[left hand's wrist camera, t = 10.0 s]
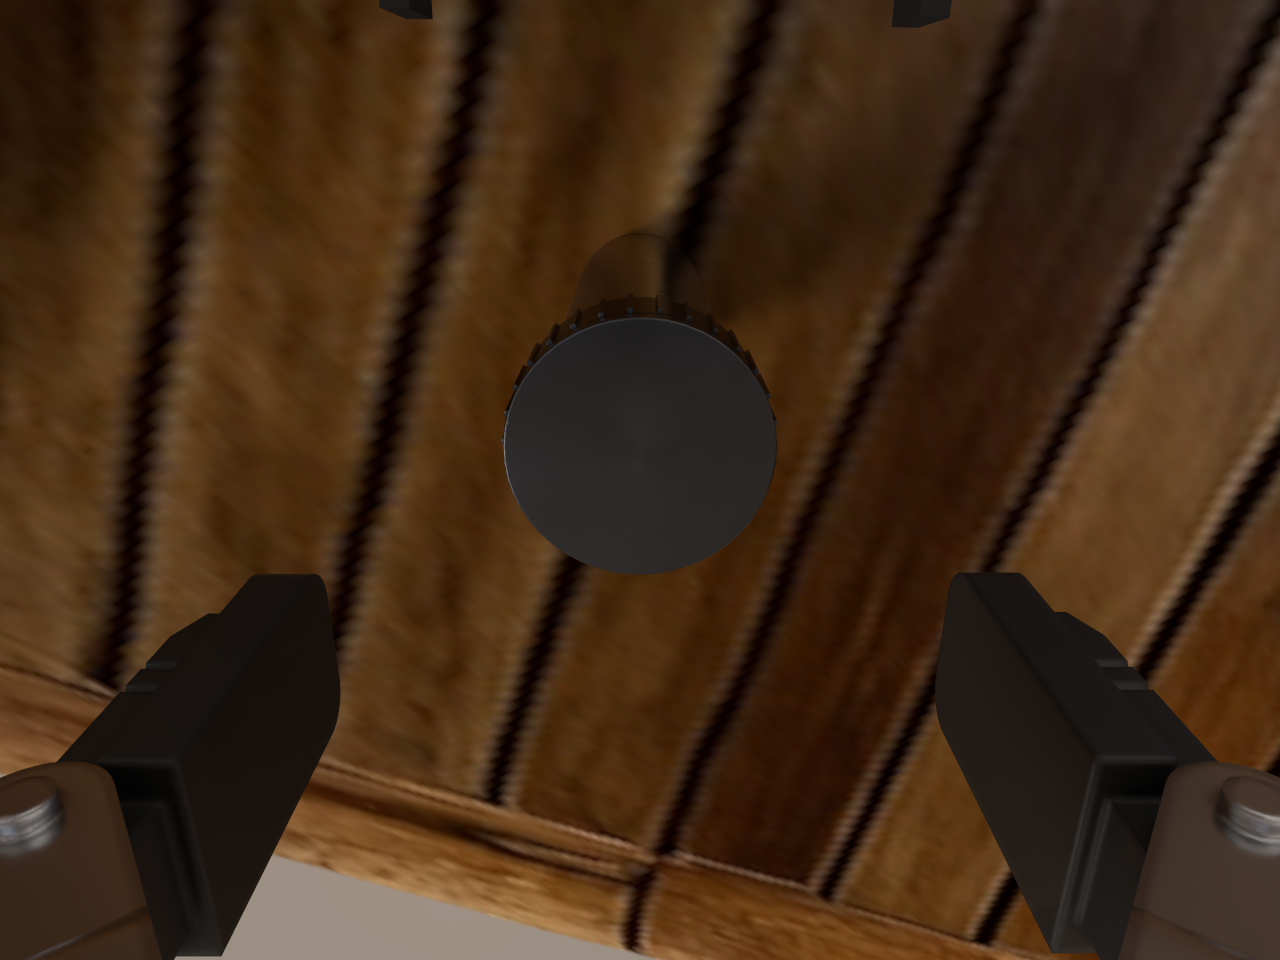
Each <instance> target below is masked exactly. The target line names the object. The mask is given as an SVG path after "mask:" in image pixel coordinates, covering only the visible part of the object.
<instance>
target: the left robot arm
mask: <svg viewBox="0 0 1280 960" xmlns="http://www.w3.org/2000/svg"><path fill="white" fill-rule="evenodd" d="M935 700H936V709H937V715H938V719H939V723H940V726H941V729H942V731H943V734H944V736H945V738H946V740H947V742H948V744H949V746H950V748H951V750H952V752H953V754H954V756H955V758H956V760H957V762H958V764H959V766H960V768H961V770H962V772H963V774H964V776H965V778H966V780H967V782H968V784H969V786H970V788H971V790H972V792H973V794H974V796H975V798H976V800H977V802H978V804H979V807H980V809H981V811H982V813H983V815H984V817H985V819H986V821H987V823H988V825H989V827H990V829H991V831H992V833H993V835H994V837H995V839H996V841H997V843H998V845H999V847H1000V849H1001V851H1002V853H1003V855H1004V857H1005V859H1006V861H1007V863H1008V865H1009V867H1010V869H1011V871H1012V873H1013V875H1014V877H1015V880H1016V882H1017V884H1018V886H1019V888H1020V890H1021V892H1022V894H1023V896H1024V898H1025V900H1026V902H1027V904H1028V906H1029V908H1030V910H1031V912H1032V914H1033V916H1034V918H1035V920H1036V922H1037V924H1038V926H1039V928H1040V930H1041V932H1042V934H1043V936H1044V938H1045V940H1046V942H1047V944H1048V946H1049V948H1050V950H1051V952H1052V953H1097V954H1098V956H1099V958H1100V960H1280V778H1279V777H1276V776H1274V775H1271V774H1268V773H1266V772H1263V771H1260V770H1257V769H1253V768H1250V767H1247V766H1242V765H1237V764H1232V763H1225V762H1217V760H1216V759H1215V758H1214V757H1213V756H1212V755H1211V754H1210V753H1209V752H1208V750H1207V749H1206V748H1205V747H1204V746H1203V745H1202V744H1201V743H1200V742H1199V740H1198V739H1197V738H1196V737H1195V736H1194V735H1193V734H1192V733H1191V731H1190V730H1189V729H1188V728H1187V727H1186V726H1185V725H1184V724H1183V723H1182V721H1181V720H1180V719H1179V718H1178V717H1177V716H1176V715H1175V714H1174V713H1173V711H1172V710H1171V709H1170V708H1169V707H1168V706H1167V705H1166V704H1165V703H1164V701H1163V700H1162V699H1161V698H1160V697H1159V696H1158V695H1157V694H1156V692H1155V691H1154V690H1148V684H1147V682H1146V681H1145V680H1144V679H1143V678H1142V677H1141V676H1140V675H1139V674H1138V672H1137V671H1136V670H1135V669H1134V668H1133V667H1128V661H1127V660H1126V659H1125V658H1124V657H1123V656H1122V655H1121V653H1120V652H1119V651H1118V650H1117V649H1116V648H1115V647H1114V646H1113V645H1112V643H1111V642H1110V641H1109V640H1108V639H1107V638H1106V637H1105V636H1104V635H1103V634H1101V633H1100V632H1098V631H1097V630H1095V629H1093V628H1092V627H1090V626H1088V625H1087V624H1085V623H1083V622H1082V621H1080V620H1078V619H1077V618H1075V617H1074V616H1072V615H1070V614H1069V613H1067V612H1054V611H1053V610H1052V609H1051V607H1050V606H1049V605H1048V604H1047V603H1046V601H1045V600H1044V599H1043V598H1042V597H1041V595H1040V594H1039V593H1038V592H1037V591H1036V590H1035V588H1034V587H1033V586H1032V585H1031V584H1030V582H1029V581H1028V580H1027V579H1026V578H1025V577H1024V576H1023V575H1022V574H1020V573H957V574H956V575H955V576H954V577H953V579H952V581H951V583H950V587H949V592H948V598H947V604H946V611H945V618H944V625H943V632H942V639H941V646H940V652H939V659H938V666H937V673H936V681H935ZM339 706H340V679H339V672H338V665H337V659H336V652H335V645H334V638H333V632H332V625H331V618H330V611H329V605H328V598H327V592H326V588H325V585H324V582H323V580H322V579H321V577H320V576H319V575H317V574H255V575H253V576H252V577H251V578H250V579H249V580H248V581H247V582H246V583H245V584H244V586H243V587H242V588H241V589H240V590H239V592H238V593H237V594H236V595H235V596H234V597H233V599H232V600H231V601H230V602H229V603H228V605H227V606H226V607H225V608H224V609H223V610H222V612H221V613H220V614H207V615H205V616H204V617H202V618H200V619H199V620H197V621H195V622H194V623H192V624H190V625H189V626H187V627H185V628H184V629H182V630H180V631H179V632H177V633H175V634H174V635H172V636H170V637H169V639H168V640H167V641H166V642H165V643H164V644H163V645H162V646H161V647H160V649H159V650H158V651H157V652H156V653H155V654H154V655H153V656H152V657H151V658H150V660H149V661H148V662H147V663H146V668H145V669H140V671H139V672H138V673H137V674H136V675H135V676H134V677H133V678H132V679H131V681H130V682H129V683H128V684H127V685H126V690H125V692H120V693H119V694H118V695H117V696H116V697H115V698H114V699H113V700H112V701H111V703H110V704H109V705H108V706H107V707H106V708H105V709H104V710H103V711H102V713H101V714H100V715H99V716H98V717H97V718H96V719H95V720H94V721H93V722H92V724H91V725H90V726H89V727H88V728H87V729H86V730H85V731H84V732H83V734H82V735H81V736H80V737H79V738H78V739H77V740H76V741H75V742H74V743H73V745H72V746H71V747H70V748H69V749H68V750H67V751H66V752H65V753H64V754H63V756H62V757H61V758H60V759H59V760H58V761H57V762H55V763H48V764H43V765H38V766H33V767H30V768H27V769H23V770H20V771H17V772H14V773H12V774H9V775H6V776H4V777H1V778H0V960H174V959H175V957H176V956H222V954H223V952H224V950H225V948H226V946H227V944H228V942H229V940H230V938H231V936H232V934H233V932H234V930H235V928H236V926H237V924H238V922H239V920H240V918H241V916H242V914H243V912H244V910H245V908H246V906H247V904H248V902H249V900H250V898H251V896H252V894H253V892H254V890H255V888H256V886H257V884H258V882H259V880H260V878H261V876H262V874H263V872H264V870H265V868H266V866H267V864H268V862H269V860H270V858H271V856H272V854H273V852H274V850H275V848H276V846H277V844H278V842H279V840H280V838H281V836H282V834H283V832H284V830H285V828H286V826H287V824H288V822H289V820H290V818H291V816H292V814H293V812H294V810H295V808H296V806H297V804H298V802H299V800H300V798H301V796H302V794H303V792H304V790H305V788H306V786H307V784H308V782H309V780H310V778H311V776H312V774H313V772H314V770H315V768H316V766H317V764H318V762H319V760H320V758H321V756H322V754H323V752H324V750H325V748H326V746H327V744H328V742H329V740H330V738H331V736H332V734H333V731H334V729H335V726H336V722H337V718H338V713H339Z"/></svg>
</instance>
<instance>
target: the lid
mask: <svg viewBox="0 0 1280 960" xmlns="http://www.w3.org/2000/svg"><path fill="white" fill-rule="evenodd" d="M526 364H527V366H525V365H523V367H522V369H521V371H520V373H519V375H518V377H517V379H516V381H515V384H514V386H513V388H512V389H514V392H513V395H512V397H511V399H510V401H509V403H508V405H507V408H506V410H505V413H504V415H505V416H507V417H506V422H505V427H504V435H503V437H502V443H503V453H504V464H505V469H506V473H507V478H508V481H509V484H510V487H511V489H512V492H513V495H514V497H515V499H516V501H517V502H518V504H519V506H520V508H521V510H522V511H523V513H524V514H525V516H526V517H527V519H528V520H529V521H530V523H531V524H532V525H533V526H534V527H535V528H536V529H537V530H538V532H539V533H540V534H541V535H542V536H543V537H545V538H546V539H547V540H548V541H549V542H550V543H552V544H553V545H554V546H555V547H557V548H558V549H560V550H561V551H563V552H564V553H566V554H567V555H569V556H571V557H573V558H575V559H577V560H579V561H581V562H583V563H586V564H588V565H591V566H594V567H597V568H600V569H604V570H608V571H612V572H618V573H627V574H653V573H661V572H668V571H672V570H676V569H680V568H683V567H686V566H689V565H692V564H694V563H697V562H699V561H701V560H703V559H705V558H707V557H709V556H711V555H713V554H714V553H716V552H717V551H719V550H720V549H722V548H723V547H725V546H726V545H727V544H728V543H730V542H731V541H732V540H733V539H734V538H735V537H736V536H738V535H739V534H740V533H741V532H742V530H743V529H744V528H745V527H746V526H747V525H748V524H749V523H750V521H751V520H752V518H753V517H754V515H755V514H756V513H757V511H758V510H759V508H760V506H761V504H762V502H763V500H764V498H765V496H766V494H767V492H768V489H769V486H770V483H771V481H772V478H773V473H774V468H775V463H776V452H777V438H776V427H775V425H777V420H776V418H775V416H774V413H773V411H772V409H771V407H770V404H769V402H768V399H770V398H771V396H770V393H769V391H768V389H767V387H766V385H765V382H764V380H763V378H762V376H761V374H758V373H759V371H758V369H757V366H756V364H755V362H754V360H753V358H752V356H751V354H750V352H749V351H748V350H747V351H746V352H744V350H743V349H742V348H741V346H740V345H739V343H738V340H737V338H736V336H735V334H734V332H733V331H732V330H729V331H727V330H726V329H725V328H723V327H722V326H721V325H719V324H718V323H717V322H716V321H715V319H714V316H713V315H712V314H711V313H708V315H705V314H703V313H701V312H700V311H698V310H696V309H693V308H691V307H690V306H689V303H688V302H686V301H683V304H681V303H678V302H674V301H670V300H666V299H662V296H661V295H658V294H657V295H656V298H652V297H634V295H633V294H628V297H627V298H620V299H613V300H610V301H606V298H603V299H601V300H600V303H599V304H596V305H594V306H591V307H589V308H586V309H584V310H582V311H581V310H580V308H578V309H576V310H575V312H574V315H573V316H572V317H570V318H568V319H567V320H566V321H564V322H563V323H562V324H561V325H558V324H557V323H556V324H554V325H553V326H552V329H551V331H550V334H549V335H548V337H547V338H546V339H545V340H544V341H543V342H542V343H541V345H540V344H539V343H536V345H535V346H534V348H533V350H532V353H531V355H530V357H529V359H528V361H527V363H526Z"/></svg>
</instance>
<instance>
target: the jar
mask: <svg viewBox="0 0 1280 960" xmlns="http://www.w3.org/2000/svg"><path fill="white" fill-rule="evenodd" d="M628 294H633V295H634V297H652V298H656V295H657V294H658V295H661V296H662V299H666V300H670V301H674V302H678V303H681V304H683V301H686V302H688V303H689V306H690V307H691V308H693V309H696V310H698V311H700V312H701V313H703V314H705V315H708V313H711V314H712V312H711V309H710V307H709V304H708V301H707V299H706V296H705V293H704V290H703V288H702V285H701V282H700V280H699V277H698V274H697V272H696V269H695V267H694V266H693V264H692V262H691V261H690V259H689V258H688V257H687V255H686V254H685V253H684V252H683V251H682V250H681V249H679V248H678V247H677V246H676V245H674V244H673V243H671V242H669V241H667V240H665V239H663V238H660V237H657V236H653V235H647V234H633V235H627V236H623V237H619V238H617V239H615V240H612V241H611V242H609V243H607V244H606V245H604V246H603V247H602V248H601V249H599V250H598V251H597V252H596V253H595V254H594V255H593V257H592V258H591V259H590V261H589V262H588V264H587V265H586V267H585V269H584V272H583V274H582V277H581V279H580V282H579V285H578V288H577V290H576V293H575V296H574V298H573V301H572V304H571V307H570V309H569V312H568V315H567V317H566V320H567V319H568V318H570V317H572V316H573V315H574V312H575V310H576V309H578V308H580V310H581V311H582V310H584V309H586V308H589V307H591V306H594V305H596V304H599V303H600V300H601V299H603V298H606V301H610V300H613V299H620V298H627V297H628ZM566 320H565V321H566Z"/></svg>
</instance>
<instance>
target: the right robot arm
mask: <svg viewBox="0 0 1280 960" xmlns="http://www.w3.org/2000/svg"><path fill="white" fill-rule="evenodd" d="M379 5H380V8H382V9H384V10H387V11H389V12H391V13H394V14H396V15H398V16H401V17H403V18H405V19H433V18H432V3H431V0H379ZM950 8H951V0H895V1H894V10H893V20H892V27H915V28H919V27H922V26H925V25H928V24H931V23H934V22H937V21H940V20H943V19H946V18H949V15H950Z"/></svg>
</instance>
